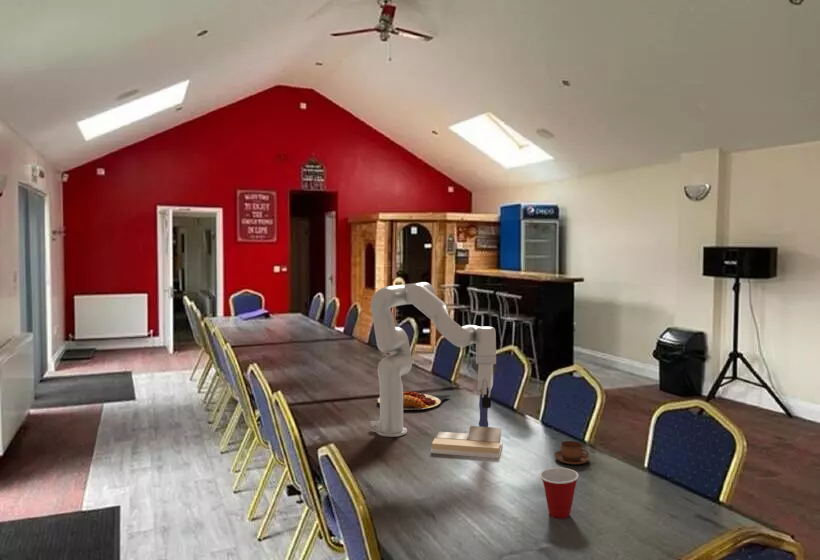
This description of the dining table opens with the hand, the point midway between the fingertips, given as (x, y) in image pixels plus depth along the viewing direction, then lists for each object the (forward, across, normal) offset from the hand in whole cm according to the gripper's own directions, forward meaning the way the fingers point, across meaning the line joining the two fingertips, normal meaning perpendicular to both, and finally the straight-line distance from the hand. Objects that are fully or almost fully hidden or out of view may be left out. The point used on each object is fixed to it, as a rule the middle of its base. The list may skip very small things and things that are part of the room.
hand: (486, 407), depth 236 cm
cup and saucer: (+16, +8, +31) cm, 36 cm away
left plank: (+13, +1, -13) cm, 19 cm away
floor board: (+15, +5, -7) cm, 17 cm away
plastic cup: (+16, +54, +26) cm, 62 cm away
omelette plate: (+15, -57, -43) cm, 73 cm away
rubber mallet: (+15, -23, -4) cm, 28 cm away
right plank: (+11, +1, -1) cm, 12 cm away
